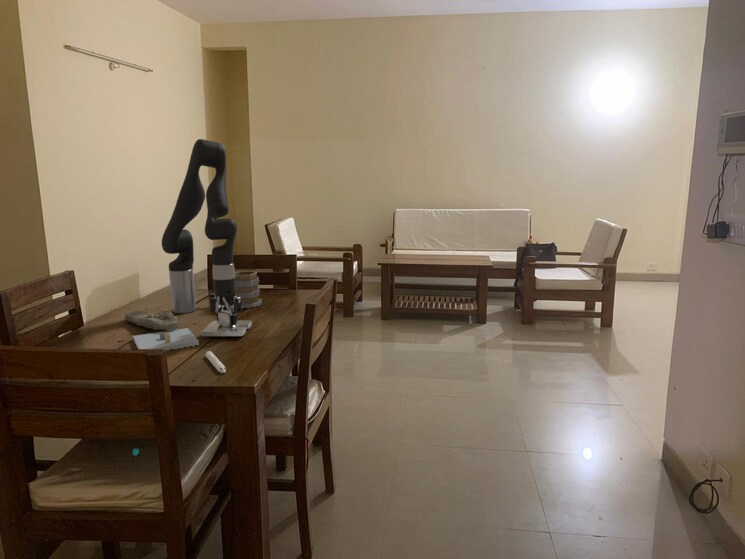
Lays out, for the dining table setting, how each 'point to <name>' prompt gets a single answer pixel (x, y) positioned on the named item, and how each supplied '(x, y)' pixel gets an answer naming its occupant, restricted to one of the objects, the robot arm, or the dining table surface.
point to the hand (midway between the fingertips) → (227, 323)
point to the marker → (215, 362)
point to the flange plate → (226, 331)
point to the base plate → (160, 344)
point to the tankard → (247, 288)
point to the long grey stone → (153, 320)
